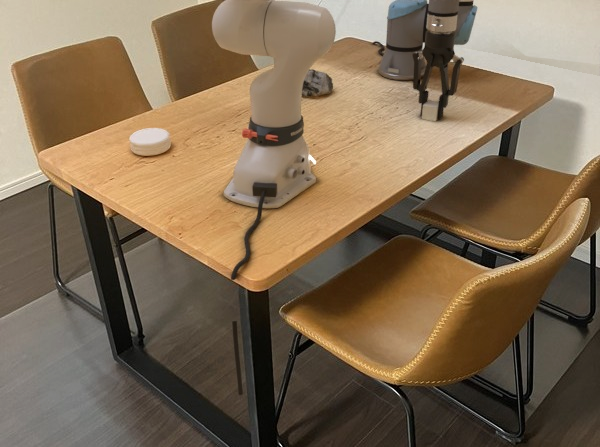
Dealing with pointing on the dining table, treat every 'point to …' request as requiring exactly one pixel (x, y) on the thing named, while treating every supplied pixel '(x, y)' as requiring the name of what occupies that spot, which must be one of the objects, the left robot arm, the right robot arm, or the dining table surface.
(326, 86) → the rock
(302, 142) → the left robot arm
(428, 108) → the light grey cube
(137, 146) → the white round disc
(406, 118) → the dining table surface
